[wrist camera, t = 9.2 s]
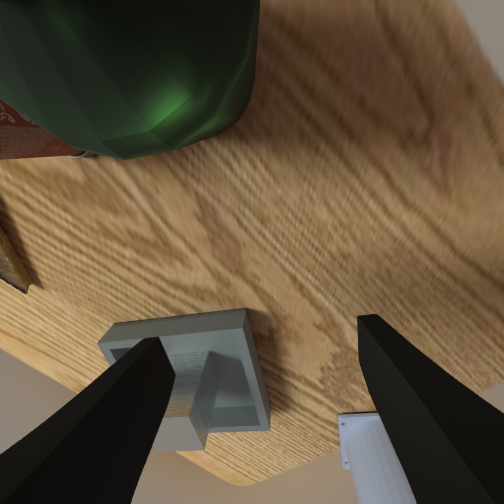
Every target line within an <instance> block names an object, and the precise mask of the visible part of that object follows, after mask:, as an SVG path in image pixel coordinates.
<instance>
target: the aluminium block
mask: <svg viewBox="0 0 504 504" xmlns="http://www.w3.org/2000/svg"><path fill="white" fill-rule="evenodd" d="M168 358H169V360H170V363H171V365H172V367H173V369H174V371H175V374H176V377H175V381H174V385H173V390H172V393H171V397H170V400H169V404H168V407H167V409H166V412H165V415H164V417H163V420H162V422H161V425H160V428H159V430H158V433H157V435H156V438H155V440H154V443H153V447H154V448H155V450H156V452H161V451H192V450H205V445H206V441H207V436H208V432H209V427H210V423H211V418H212V414H213V409H214V405H215V400H216V396H217V391H218V387H219V382H220V380H219V377H218V374H217V371H216V369H215V366H214V363H213V360H212V358H211V355H210V352H209V351H198V352H188V353H178V354H169V355H168Z"/></svg>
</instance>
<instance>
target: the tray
mask: <svg viewBox="0 0 504 504" xmlns="http://www.w3.org/2000/svg"><path fill="white" fill-rule="evenodd" d="M149 337H159V338H160V340H161V342H162V345H163V347H164V349H165V351H166V354H167V356H168V355H169V354H178V353H188V352H198V351H209V352H210V355H211V358H212V360H213V363H214V366H215V369H216V371H217V374H218V377H219V380H220V382H219V387H218V391H217V396H216V400H215V405H214V409H213V414H212V418H211V423H210V427H209V432H208V433H216V432H242V431H267V430H270V401H269V397H268V393H267V389H266V385H265V381H264V377H263V373H262V370H261V366H260V362H259V358H258V354H257V350H256V346H255V342H254V338H253V334H252V330H251V326H250V322H249V318H248V314H247V310H246V308H241V309H233V310H224V311H215V312H207V313H198V314H190V315H181V316H173V317H164V318H155V319H147V320H138V321H130V322H121V323H114V324H113V326H112V327H111V328H110V329H109V330H108V331H107V332H106V334H105V335H104V336H103V337H102V338H101V339H100V340H99V342H98V343H97V344H98V346H99V347H100V349H101V351H102V353H103V354H104V356H105V358H106V360H107V361H108V363H109V365H110V366H112V365H113V364H114V363H115V362H116V361H117V360H118V359H120V358H121V357H122V356H123V355H124V354H125V353H126V352H128V351H129V350H130V349H131V348H132V347H134V346H135V345H136V344H137V343H138V342H140V341H141V340H142V339H144V338H149Z"/></svg>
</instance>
